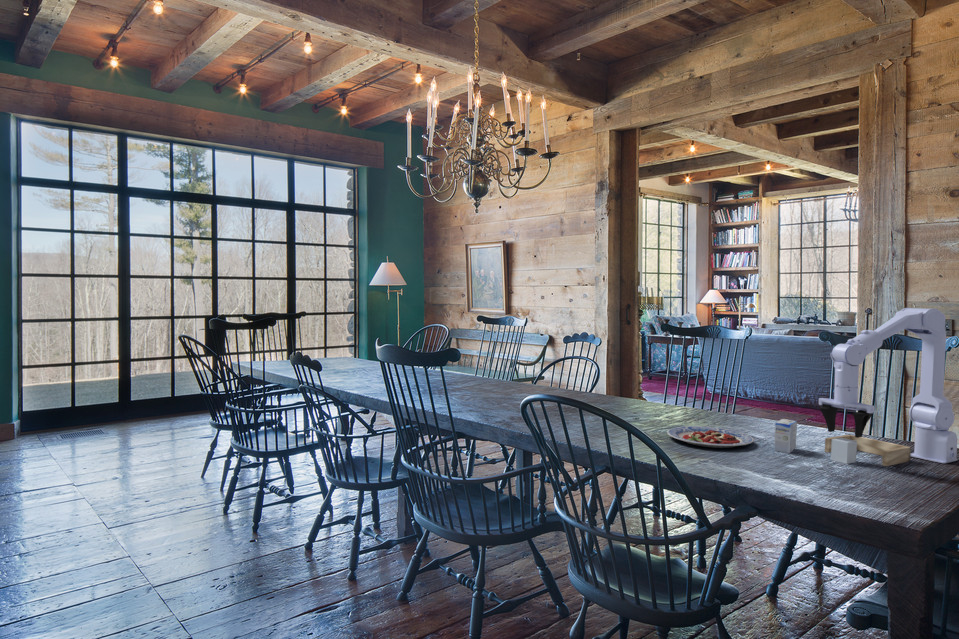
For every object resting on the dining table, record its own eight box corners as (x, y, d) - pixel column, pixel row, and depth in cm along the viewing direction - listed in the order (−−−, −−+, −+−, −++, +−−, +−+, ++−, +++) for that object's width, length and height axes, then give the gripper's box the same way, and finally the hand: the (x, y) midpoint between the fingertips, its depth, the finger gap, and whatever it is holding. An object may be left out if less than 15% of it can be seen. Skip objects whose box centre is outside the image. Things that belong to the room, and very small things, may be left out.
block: (856, 462, 172) (857, 441, 171) (846, 464, 169) (847, 442, 169) (840, 458, 175) (841, 437, 175) (830, 460, 173) (831, 439, 173)
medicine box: (780, 446, 189) (781, 418, 188) (796, 448, 186) (797, 420, 186) (773, 451, 183) (774, 422, 182) (790, 453, 180) (791, 424, 179)
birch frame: (910, 460, 173) (910, 447, 173) (886, 466, 167) (887, 451, 167) (848, 447, 189) (848, 434, 188) (824, 451, 183) (825, 438, 182)
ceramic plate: (718, 431, 210) (718, 422, 210) (772, 449, 185) (772, 440, 185) (651, 434, 203) (652, 425, 203) (698, 454, 178) (698, 444, 178)
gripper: (812, 384, 176) (811, 430, 176) (864, 391, 163) (863, 441, 164) (827, 382, 179) (825, 428, 180) (879, 389, 167) (877, 438, 167)
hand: (844, 434), depth 172 cm, fingers open, 7 cm apart
